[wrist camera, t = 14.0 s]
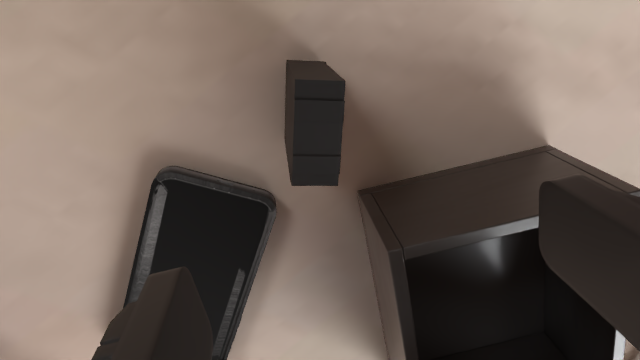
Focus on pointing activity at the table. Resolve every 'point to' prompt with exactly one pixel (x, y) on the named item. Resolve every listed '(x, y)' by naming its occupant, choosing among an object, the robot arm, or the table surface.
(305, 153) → the ink cartridge
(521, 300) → the pen box
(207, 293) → the phone
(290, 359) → the table surface
